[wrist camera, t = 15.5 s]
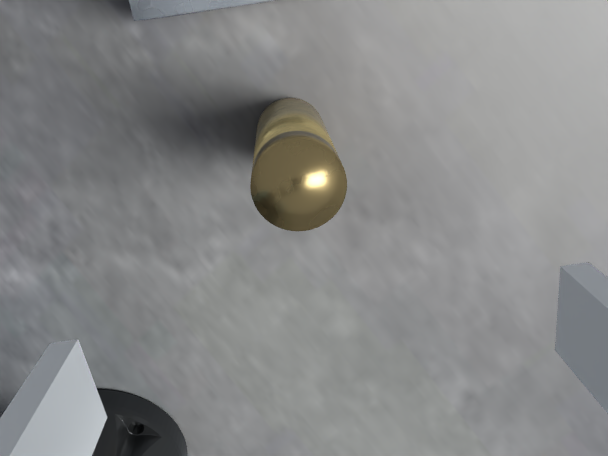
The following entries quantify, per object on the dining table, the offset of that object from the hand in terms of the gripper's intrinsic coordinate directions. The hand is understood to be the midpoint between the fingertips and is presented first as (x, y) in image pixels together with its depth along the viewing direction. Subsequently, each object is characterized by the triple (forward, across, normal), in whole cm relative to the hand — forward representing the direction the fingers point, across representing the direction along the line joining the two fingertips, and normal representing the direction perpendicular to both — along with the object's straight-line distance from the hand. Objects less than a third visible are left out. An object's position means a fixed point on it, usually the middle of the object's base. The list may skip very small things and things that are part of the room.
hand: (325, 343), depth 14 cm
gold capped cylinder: (+27, 0, 0) cm, 27 cm away
